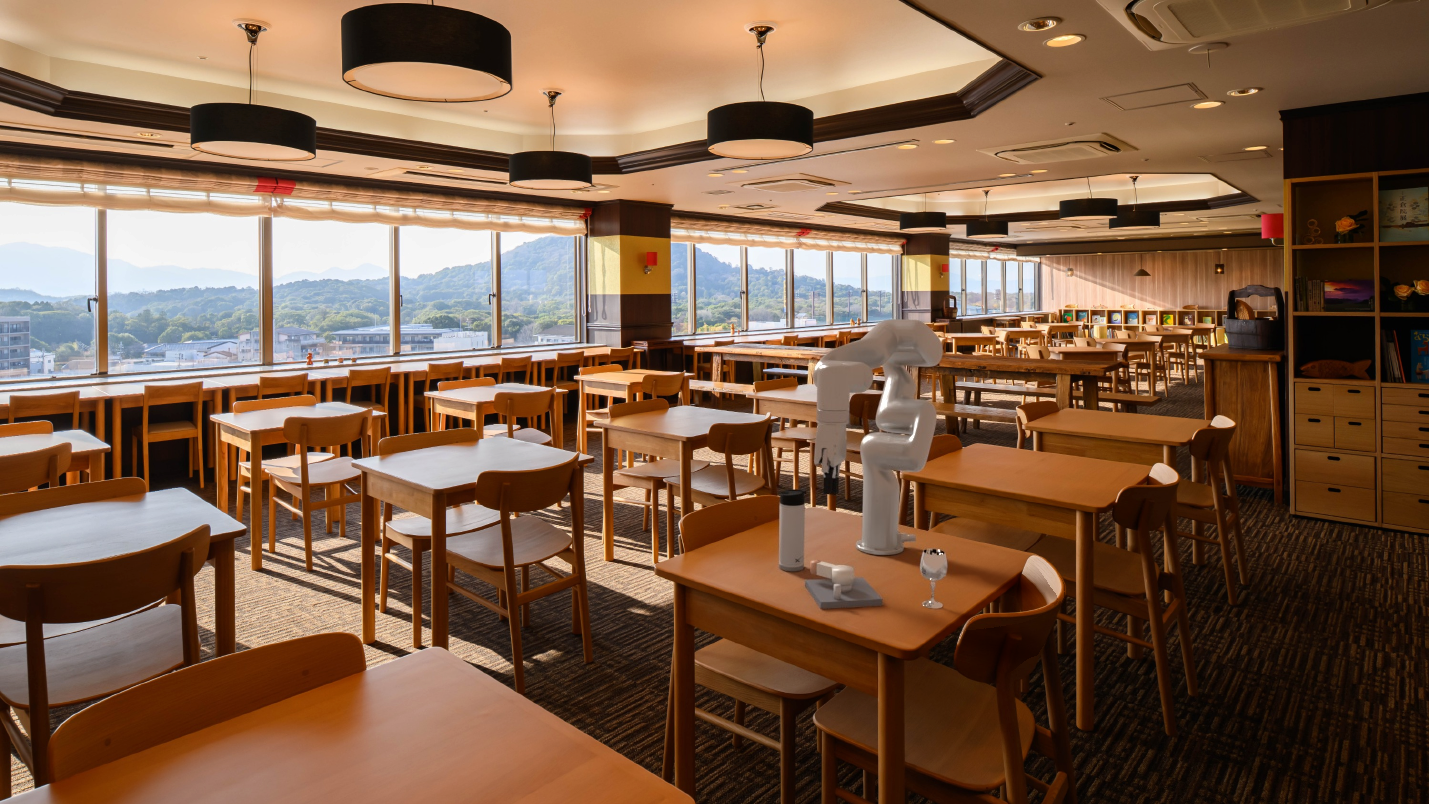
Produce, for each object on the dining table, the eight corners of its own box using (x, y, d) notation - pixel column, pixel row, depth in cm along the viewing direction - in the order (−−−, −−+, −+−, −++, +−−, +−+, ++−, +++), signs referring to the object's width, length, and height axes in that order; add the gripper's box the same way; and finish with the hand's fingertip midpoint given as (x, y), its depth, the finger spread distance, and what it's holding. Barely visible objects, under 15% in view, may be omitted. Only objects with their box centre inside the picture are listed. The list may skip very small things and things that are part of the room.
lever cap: (858, 581, 179) (858, 568, 178) (846, 587, 175) (846, 574, 175) (817, 569, 186) (817, 557, 186) (804, 575, 182) (805, 562, 182)
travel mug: (804, 572, 194) (805, 493, 191) (777, 570, 195) (778, 492, 193) (806, 564, 200) (807, 487, 198) (780, 562, 201) (781, 486, 199)
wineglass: (915, 600, 176) (916, 548, 175) (940, 599, 176) (942, 547, 175) (924, 610, 170) (925, 556, 169) (949, 609, 171) (951, 555, 169)
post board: (862, 583, 187) (862, 564, 186) (882, 605, 173) (883, 585, 172) (804, 585, 185) (805, 567, 184) (820, 608, 171) (820, 588, 171)
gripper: (828, 412, 192) (826, 485, 194) (806, 419, 179) (804, 498, 181) (857, 414, 188) (855, 489, 191) (837, 421, 175) (835, 502, 177)
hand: (830, 493), depth 186 cm, fingers closed
